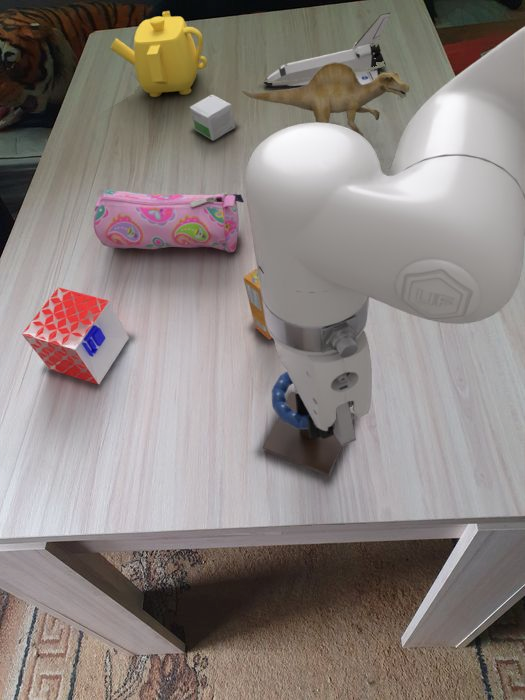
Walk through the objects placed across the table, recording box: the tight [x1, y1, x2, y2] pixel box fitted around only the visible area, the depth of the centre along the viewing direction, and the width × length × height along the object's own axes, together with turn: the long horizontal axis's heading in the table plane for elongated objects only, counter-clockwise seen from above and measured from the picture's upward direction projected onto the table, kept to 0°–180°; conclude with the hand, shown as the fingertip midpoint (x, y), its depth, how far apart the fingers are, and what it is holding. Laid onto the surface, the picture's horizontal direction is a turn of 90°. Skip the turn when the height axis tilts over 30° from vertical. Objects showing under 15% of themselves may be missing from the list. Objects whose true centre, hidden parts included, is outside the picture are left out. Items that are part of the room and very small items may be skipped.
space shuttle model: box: [263, 12, 391, 88], centre depth 102 cm, size 16×25×10 cm, turn 96°
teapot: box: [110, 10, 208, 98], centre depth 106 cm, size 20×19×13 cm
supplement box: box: [243, 268, 273, 341], centre depth 66 cm, size 3×3×10 cm
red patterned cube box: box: [21, 287, 130, 386], centre depth 68 cm, size 8×8×8 cm
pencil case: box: [93, 189, 244, 253], centre depth 79 cm, size 21×9×9 cm, turn 82°
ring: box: [271, 371, 310, 429], centre depth 53 cm, size 7×7×1 cm
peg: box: [262, 391, 355, 478], centre depth 58 cm, size 8×8×8 cm
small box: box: [189, 94, 236, 142], centre depth 97 cm, size 6×6×5 cm
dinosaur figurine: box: [241, 62, 410, 137], centre depth 88 cm, size 8×26×13 cm, turn 89°
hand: (318, 420), depth 52 cm, fingers closed on ring
